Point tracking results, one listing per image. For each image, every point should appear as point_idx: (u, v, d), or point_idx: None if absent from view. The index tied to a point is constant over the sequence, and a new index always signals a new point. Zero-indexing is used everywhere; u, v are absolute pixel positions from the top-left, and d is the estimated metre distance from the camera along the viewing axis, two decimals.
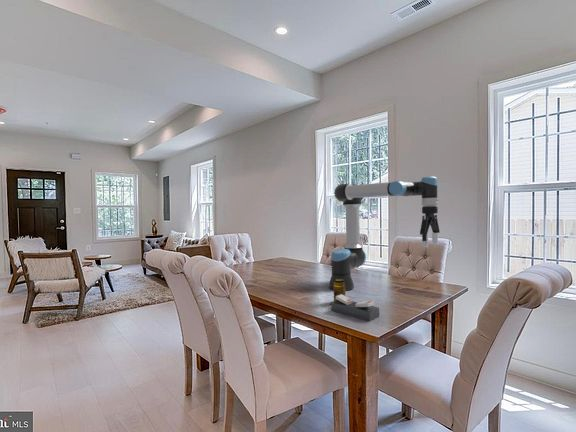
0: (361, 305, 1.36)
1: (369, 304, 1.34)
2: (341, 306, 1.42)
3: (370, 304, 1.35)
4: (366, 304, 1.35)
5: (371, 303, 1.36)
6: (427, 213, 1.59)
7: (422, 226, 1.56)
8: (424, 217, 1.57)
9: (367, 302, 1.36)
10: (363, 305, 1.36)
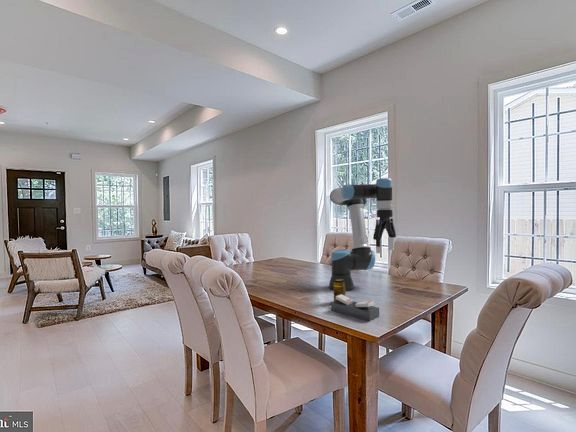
0: (361, 305, 1.36)
1: (369, 304, 1.34)
2: (341, 306, 1.42)
3: (370, 304, 1.35)
4: (366, 304, 1.35)
5: (371, 303, 1.36)
6: (381, 217, 1.50)
7: (375, 231, 1.47)
8: (378, 221, 1.48)
9: (367, 302, 1.36)
10: (363, 305, 1.36)
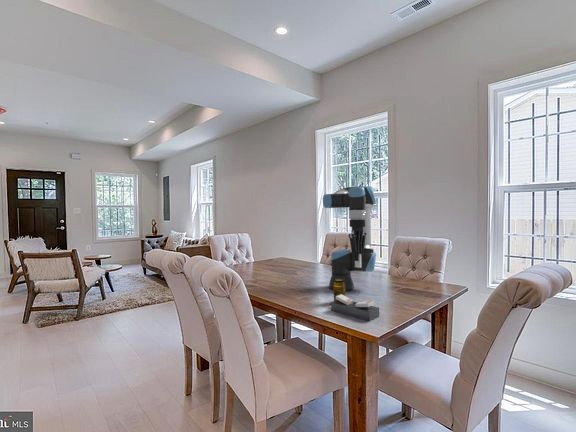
0: (361, 305, 1.36)
1: (369, 304, 1.34)
2: (341, 306, 1.42)
3: (370, 304, 1.35)
4: (366, 304, 1.35)
5: (371, 303, 1.36)
6: (353, 227, 1.46)
7: (352, 246, 1.46)
8: (350, 236, 1.44)
9: (367, 302, 1.36)
10: (363, 305, 1.36)
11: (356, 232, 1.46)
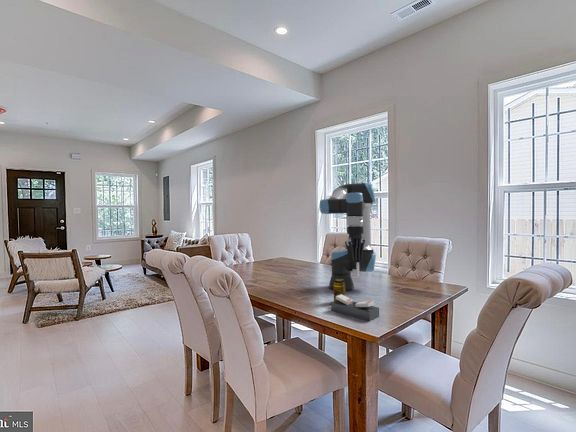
0: (361, 305, 1.36)
1: (369, 304, 1.34)
2: (341, 306, 1.42)
3: (370, 304, 1.35)
4: (366, 304, 1.35)
5: (371, 303, 1.36)
6: (350, 234, 1.40)
7: (349, 254, 1.40)
8: (347, 244, 1.39)
9: (367, 302, 1.36)
10: (363, 305, 1.36)
11: (353, 239, 1.40)
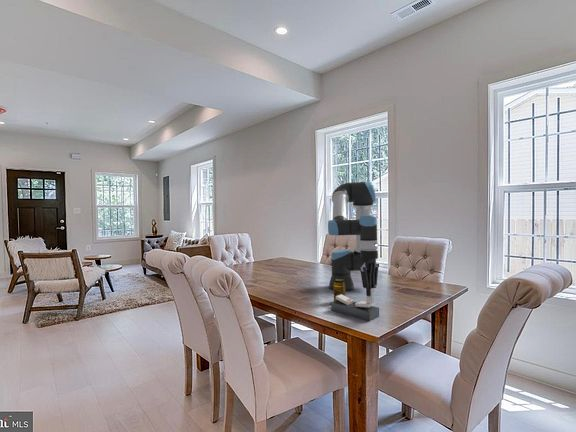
0: (361, 305, 1.36)
1: (369, 305, 1.34)
2: (341, 306, 1.42)
3: (370, 305, 1.35)
4: (366, 304, 1.35)
5: (371, 304, 1.36)
6: (365, 259, 1.33)
7: (363, 280, 1.32)
8: (361, 270, 1.31)
9: None
10: (363, 305, 1.36)
11: (368, 265, 1.33)
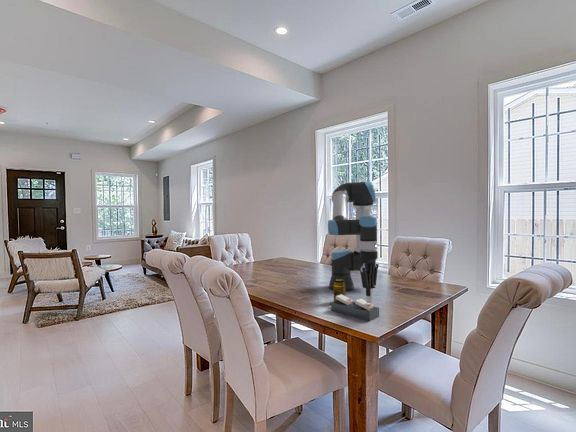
0: (361, 305, 1.37)
1: (369, 308, 1.34)
2: (341, 306, 1.42)
3: (370, 308, 1.35)
4: (366, 307, 1.35)
5: (371, 307, 1.36)
6: (364, 259, 1.33)
7: (363, 280, 1.33)
8: (361, 270, 1.32)
9: (368, 304, 1.36)
10: (363, 306, 1.36)
11: (367, 265, 1.33)
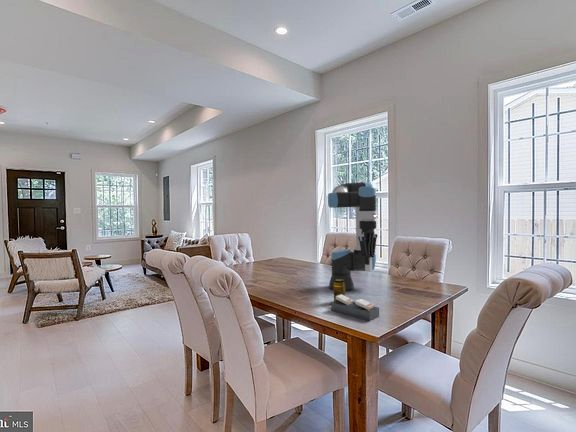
0: (361, 305, 1.37)
1: (369, 307, 1.34)
2: (341, 306, 1.42)
3: (370, 307, 1.35)
4: (366, 306, 1.35)
5: (371, 306, 1.36)
6: (363, 229, 1.36)
7: (362, 249, 1.37)
8: (360, 239, 1.35)
9: (368, 304, 1.36)
10: (363, 306, 1.36)
11: (366, 234, 1.37)
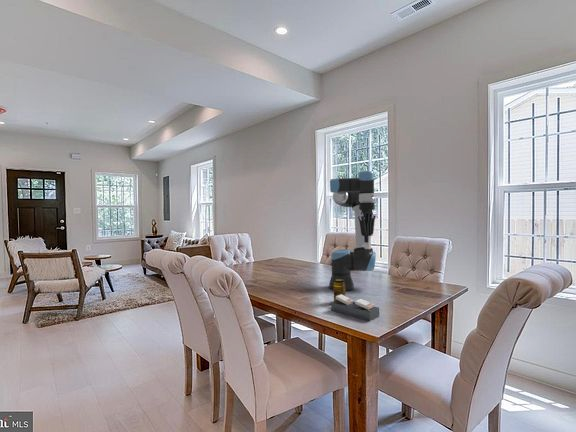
0: (361, 305, 1.37)
1: (369, 307, 1.34)
2: (341, 306, 1.42)
3: (370, 307, 1.35)
4: (366, 306, 1.35)
5: (371, 306, 1.36)
6: (363, 209, 1.51)
7: (361, 228, 1.51)
8: (360, 218, 1.50)
9: (368, 304, 1.36)
10: (363, 306, 1.36)
11: (365, 214, 1.51)
